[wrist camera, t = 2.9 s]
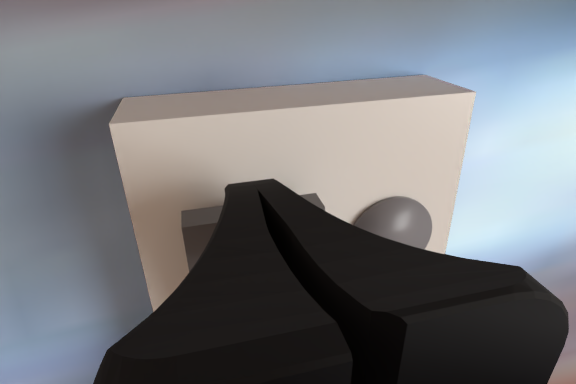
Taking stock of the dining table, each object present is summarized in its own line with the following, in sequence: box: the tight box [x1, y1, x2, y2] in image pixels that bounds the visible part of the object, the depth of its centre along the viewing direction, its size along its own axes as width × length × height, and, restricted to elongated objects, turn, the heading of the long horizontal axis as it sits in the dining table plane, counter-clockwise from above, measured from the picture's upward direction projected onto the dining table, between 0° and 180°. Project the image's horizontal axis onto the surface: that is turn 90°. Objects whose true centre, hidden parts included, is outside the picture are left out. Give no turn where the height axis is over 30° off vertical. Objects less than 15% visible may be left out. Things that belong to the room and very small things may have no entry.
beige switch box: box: [109, 75, 476, 312], centre depth 17 cm, size 18×11×3 cm, turn 1°
